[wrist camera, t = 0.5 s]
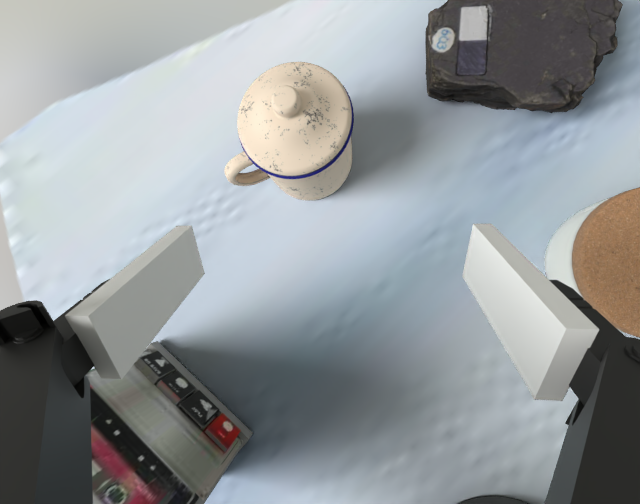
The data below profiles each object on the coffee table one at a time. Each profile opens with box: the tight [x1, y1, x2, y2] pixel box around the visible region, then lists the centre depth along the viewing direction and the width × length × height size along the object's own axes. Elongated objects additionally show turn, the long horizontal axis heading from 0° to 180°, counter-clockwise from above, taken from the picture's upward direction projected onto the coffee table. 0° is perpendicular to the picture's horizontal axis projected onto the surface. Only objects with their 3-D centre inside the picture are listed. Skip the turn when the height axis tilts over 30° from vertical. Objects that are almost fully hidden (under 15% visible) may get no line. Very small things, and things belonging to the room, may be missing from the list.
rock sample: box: [426, 0, 623, 113], centre depth 28 cm, size 18×16×5 cm
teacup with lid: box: [225, 62, 354, 200], centre depth 26 cm, size 12×9×12 cm
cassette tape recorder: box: [86, 341, 253, 504], centre depth 19 cm, size 14×6×25 cm, turn 51°
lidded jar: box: [544, 187, 640, 338], centre depth 23 cm, size 11×11×9 cm
